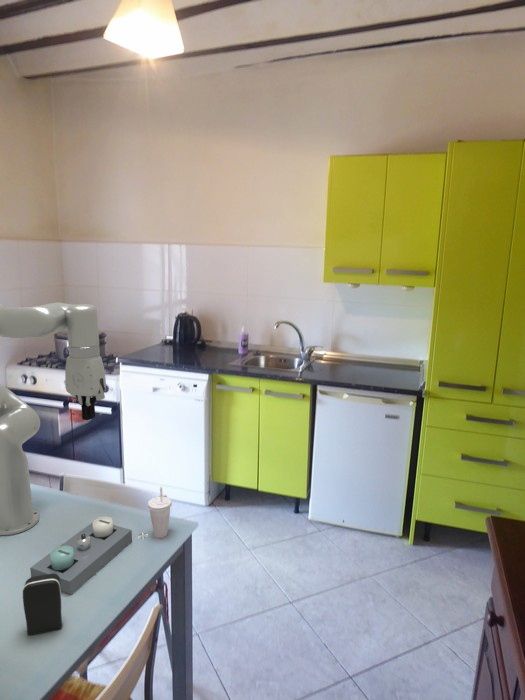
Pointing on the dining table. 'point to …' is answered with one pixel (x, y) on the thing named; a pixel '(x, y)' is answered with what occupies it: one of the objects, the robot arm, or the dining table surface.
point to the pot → (83, 542)
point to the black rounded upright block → (43, 603)
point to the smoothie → (160, 514)
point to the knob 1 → (62, 558)
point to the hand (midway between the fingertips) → (88, 418)
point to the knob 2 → (102, 527)
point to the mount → (86, 557)
